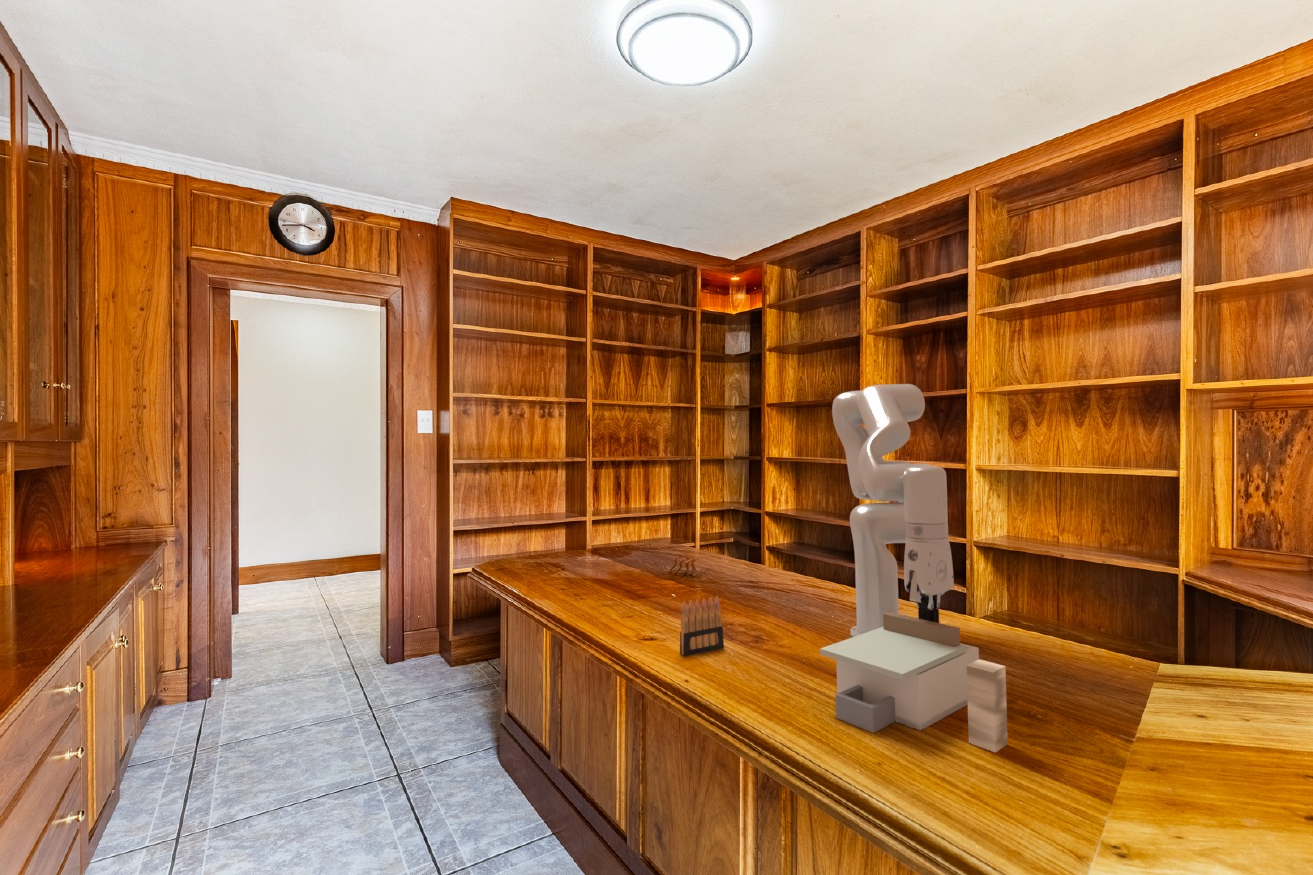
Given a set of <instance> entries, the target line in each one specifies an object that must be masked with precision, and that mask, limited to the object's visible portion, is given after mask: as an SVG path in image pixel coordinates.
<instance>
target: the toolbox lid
mask: <svg viewBox="0 0 1313 875" xmlns="http://www.w3.org/2000/svg"><path fill="white" fill-rule="evenodd" d="M901 614H902V613H901ZM901 614H900V613H899V614H896V613H892V612H887V613H884V614H883V627H881V628H878V629H875V630H872V631H869V632H866V633H864V634H861V635H858V636H855V637H852V636H851V637H850V638H847V639H843V640H841V641H839V642H835V643H833V644H830V645H827V646H824V647H821V648H819V655H821V656H824V657H826V658H827V657H828V658H830V659H834V660H840V661H843V662H846V663H849V664H852V665H855V666H859V667H862V668H865V669H868V670H871V671H874V672H878V673H881V674H884V675H887V676H890V677H893V678H897V679H900V680H905V679H907V678H909V677H911V676H914V675H916V674H918V673H920V672H922V671H925V670H927V669H929V668H931V667H934V666H936V665H938V664H940V663H942V662H945V661H947V660H949V659H951V658H953V657H956V656H958V655H960V654H962V653H964V652H966V646H963V645H960V643H961V630H960V629H961V628H960V627H958V626H954V625H949V624H944V623H941V622H939V623H936V622H932V621H927V620H923V619H919V618H918V617H913V616H908V615H907V616H905V615H906V614H905V615H901Z"/></svg>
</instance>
